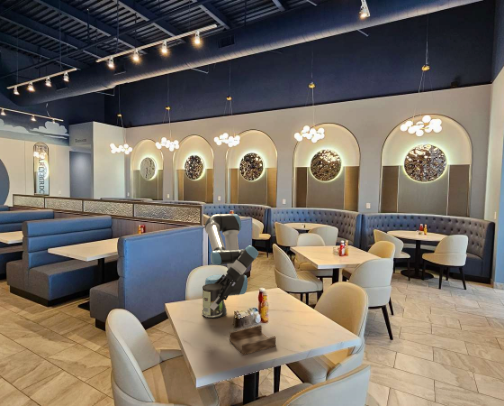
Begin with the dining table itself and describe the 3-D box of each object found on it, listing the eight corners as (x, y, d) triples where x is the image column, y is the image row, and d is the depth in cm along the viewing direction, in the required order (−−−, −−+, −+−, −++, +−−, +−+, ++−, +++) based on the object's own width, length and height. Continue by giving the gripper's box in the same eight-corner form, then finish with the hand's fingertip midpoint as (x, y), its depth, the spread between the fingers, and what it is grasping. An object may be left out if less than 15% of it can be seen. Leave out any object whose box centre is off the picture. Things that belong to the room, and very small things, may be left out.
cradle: (260, 332, 160) (260, 324, 160) (275, 346, 146) (275, 337, 146) (229, 340, 151) (229, 331, 151) (242, 355, 138) (242, 345, 138)
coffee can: (224, 309, 157) (224, 283, 156) (219, 318, 147) (219, 290, 146) (205, 308, 159) (205, 282, 158) (199, 316, 148) (199, 289, 148)
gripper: (250, 281, 149) (221, 317, 143) (232, 269, 169) (205, 301, 163) (240, 271, 146) (210, 308, 140) (223, 261, 166) (196, 293, 160)
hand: (208, 305), depth 151 cm, fingers closed on coffee can, 10 cm apart
